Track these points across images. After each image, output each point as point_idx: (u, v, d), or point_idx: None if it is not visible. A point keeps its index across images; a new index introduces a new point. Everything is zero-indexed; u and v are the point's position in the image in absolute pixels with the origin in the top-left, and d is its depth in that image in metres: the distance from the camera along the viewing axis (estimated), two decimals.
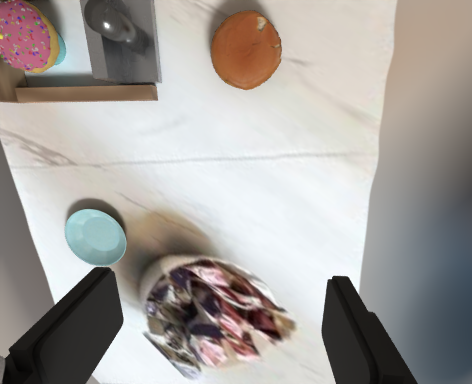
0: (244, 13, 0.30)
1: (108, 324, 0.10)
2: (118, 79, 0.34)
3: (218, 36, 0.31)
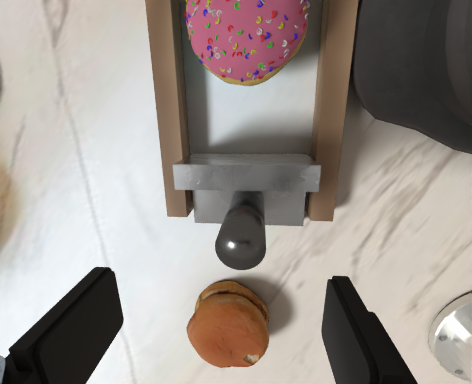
0: (264, 342, 0.26)
1: (108, 324, 0.10)
2: None
3: (241, 316, 0.25)
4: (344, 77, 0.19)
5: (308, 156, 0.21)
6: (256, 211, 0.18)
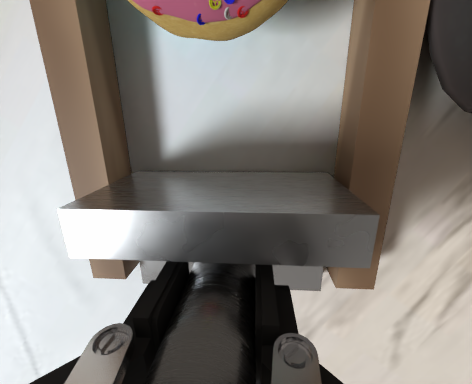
0: None
1: None
2: None
3: None
4: (415, 26, 0.09)
5: (334, 180, 0.12)
6: (237, 313, 0.08)
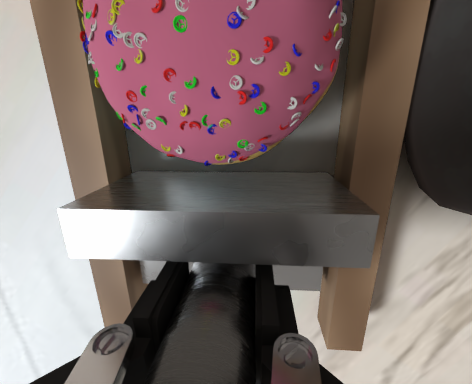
0: None
1: None
2: None
3: None
4: (393, 143, 0.11)
5: (334, 180, 0.12)
6: (237, 313, 0.08)
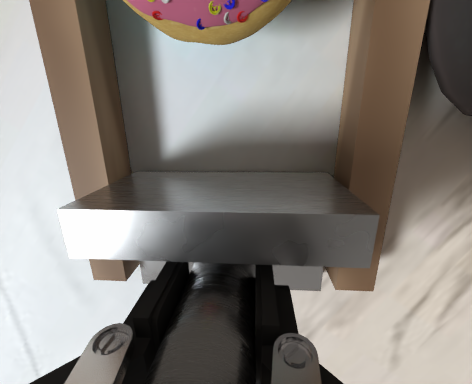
0: None
1: None
2: None
3: None
4: (414, 30, 0.09)
5: (334, 180, 0.12)
6: (237, 313, 0.08)
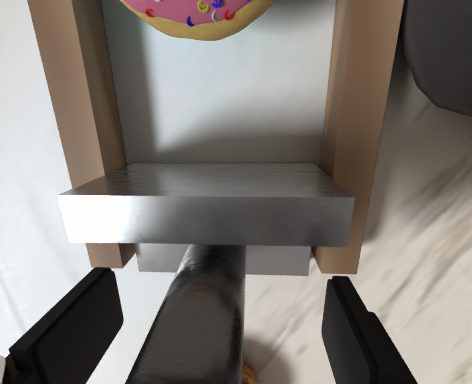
0: None
1: (108, 324, 0.10)
2: None
3: None
4: (390, 27, 0.10)
5: (319, 169, 0.13)
6: (226, 289, 0.09)
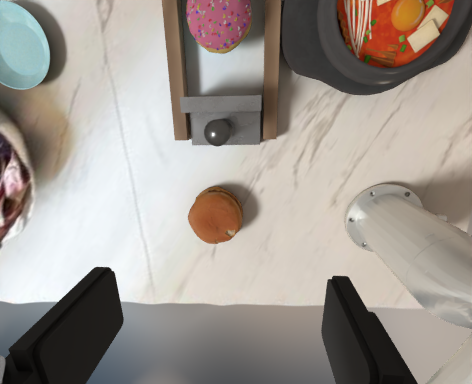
0: (238, 220, 0.40)
1: (108, 324, 0.10)
2: None
3: (223, 201, 0.39)
4: (276, 49, 0.33)
5: None
6: (227, 121, 0.32)
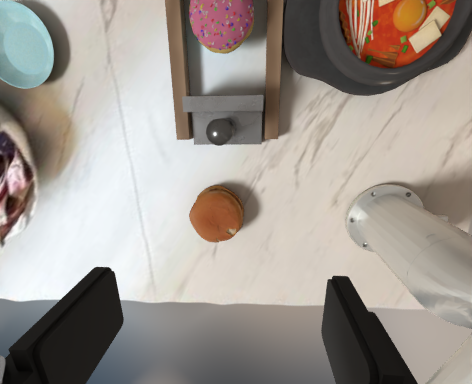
0: (239, 219, 0.40)
1: (108, 324, 0.10)
2: None
3: (224, 200, 0.40)
4: (278, 49, 0.33)
5: None
6: (228, 120, 0.32)
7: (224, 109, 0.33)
